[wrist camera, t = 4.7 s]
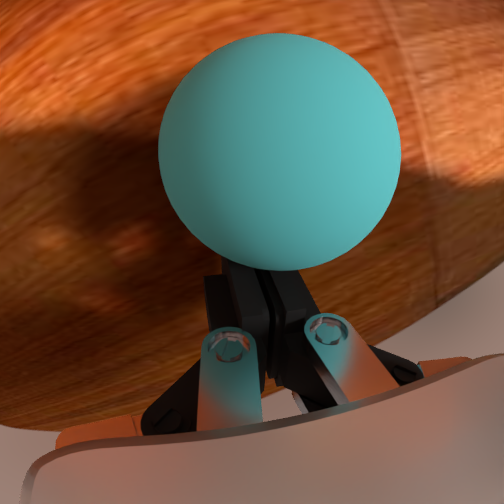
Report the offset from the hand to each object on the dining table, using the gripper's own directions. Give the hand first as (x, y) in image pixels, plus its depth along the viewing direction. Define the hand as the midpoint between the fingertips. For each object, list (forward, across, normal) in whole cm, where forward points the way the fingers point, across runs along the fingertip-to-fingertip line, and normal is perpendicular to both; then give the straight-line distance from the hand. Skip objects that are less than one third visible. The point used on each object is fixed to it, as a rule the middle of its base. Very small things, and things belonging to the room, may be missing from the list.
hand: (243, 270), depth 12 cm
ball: (-2, -1, -5) cm, 5 cm away
